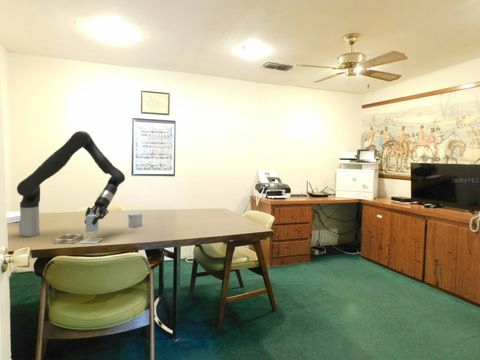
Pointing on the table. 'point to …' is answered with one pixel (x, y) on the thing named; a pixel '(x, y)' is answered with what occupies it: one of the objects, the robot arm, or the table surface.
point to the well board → (68, 238)
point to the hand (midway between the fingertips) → (89, 223)
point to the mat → (92, 240)
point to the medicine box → (135, 220)
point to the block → (89, 225)
